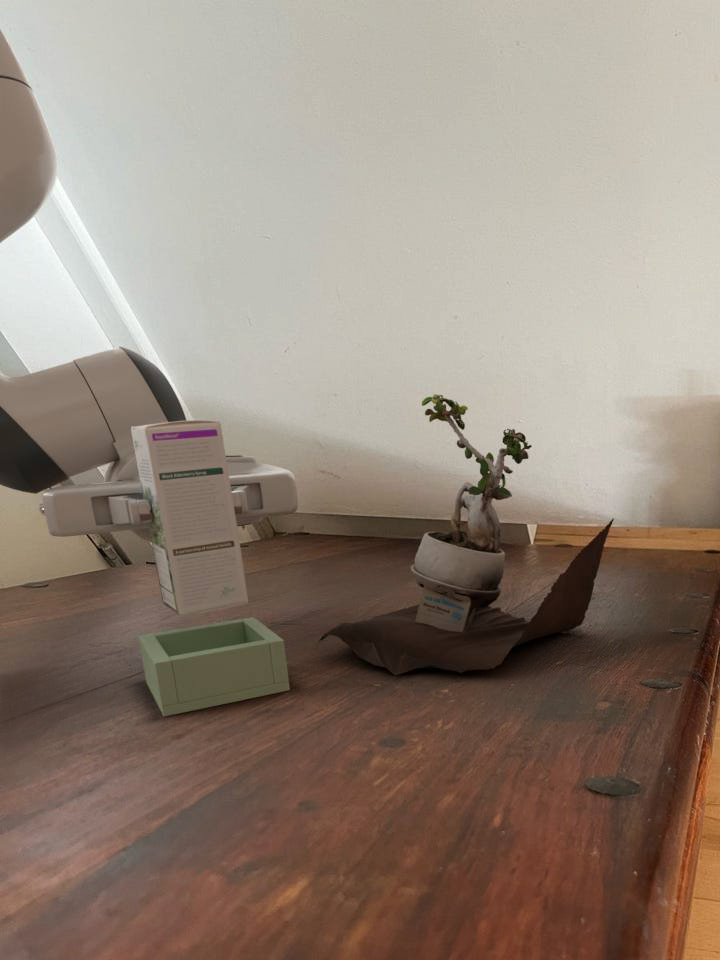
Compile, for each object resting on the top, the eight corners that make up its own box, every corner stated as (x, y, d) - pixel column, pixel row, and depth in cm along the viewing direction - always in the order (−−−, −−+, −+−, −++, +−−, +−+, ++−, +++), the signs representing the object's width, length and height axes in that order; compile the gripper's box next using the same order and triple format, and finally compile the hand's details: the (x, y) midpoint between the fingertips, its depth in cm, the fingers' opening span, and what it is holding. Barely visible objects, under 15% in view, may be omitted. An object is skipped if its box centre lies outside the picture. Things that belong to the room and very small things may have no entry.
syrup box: (251, 604, 62) (225, 418, 58) (176, 617, 59) (143, 422, 55) (230, 593, 67) (204, 420, 63) (159, 605, 64) (127, 424, 60)
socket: (163, 716, 59) (154, 663, 57) (146, 683, 67) (138, 635, 66) (290, 690, 63) (284, 640, 62) (259, 661, 71) (253, 616, 70)
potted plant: (430, 631, 88) (488, 410, 81) (572, 696, 79) (650, 454, 72) (303, 647, 71) (363, 371, 65) (464, 732, 62) (553, 422, 56)
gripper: (30, 470, 66) (32, 477, 54) (267, 454, 76) (312, 457, 64) (46, 543, 68) (50, 565, 56) (275, 518, 77) (320, 533, 66)
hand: (192, 507), depth 60 cm, fingers closed on syrup box, 6 cm apart
